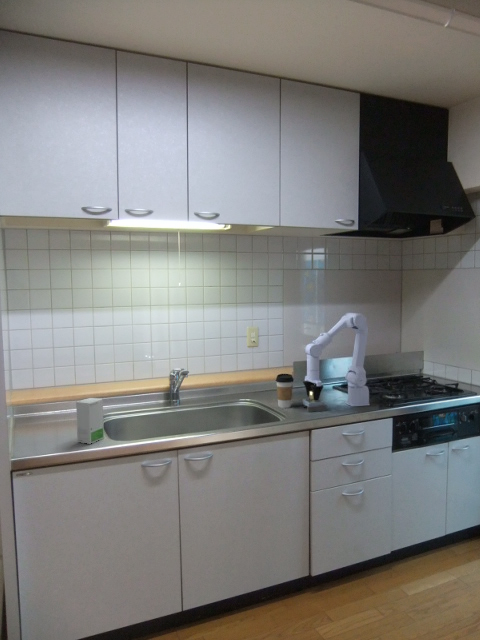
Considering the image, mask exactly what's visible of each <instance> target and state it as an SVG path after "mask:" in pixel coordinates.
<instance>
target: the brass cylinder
mask: <svg viewBox="0 0 480 640" xmlns="http://www.w3.org/2000/svg"><path fill="white" fill-rule="evenodd" d="M308 399H309V403H313V402H317V400H314V398H313V391H312V390H311V391H309V397H308Z"/></svg>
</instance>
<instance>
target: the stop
mask: <svg viewBox="0 0 480 640" xmlns="http://www.w3.org/2000/svg"><path fill="white" fill-rule="evenodd" d="M306 411H307V412H308V413H315V412H322V411H323V412H324V411H325V412H326V411H327V405H326V404H324V405H317V406H307V407H306Z"/></svg>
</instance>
